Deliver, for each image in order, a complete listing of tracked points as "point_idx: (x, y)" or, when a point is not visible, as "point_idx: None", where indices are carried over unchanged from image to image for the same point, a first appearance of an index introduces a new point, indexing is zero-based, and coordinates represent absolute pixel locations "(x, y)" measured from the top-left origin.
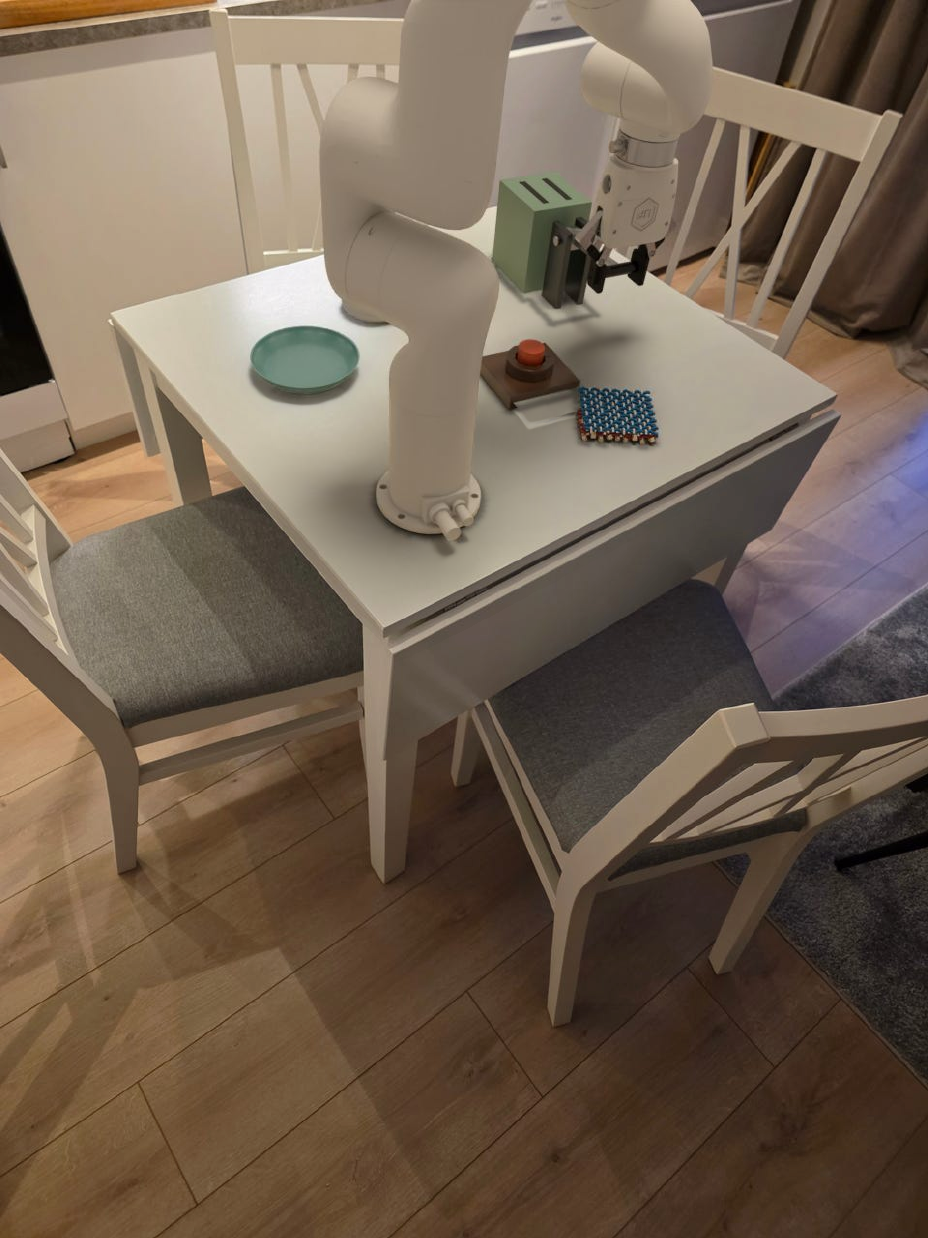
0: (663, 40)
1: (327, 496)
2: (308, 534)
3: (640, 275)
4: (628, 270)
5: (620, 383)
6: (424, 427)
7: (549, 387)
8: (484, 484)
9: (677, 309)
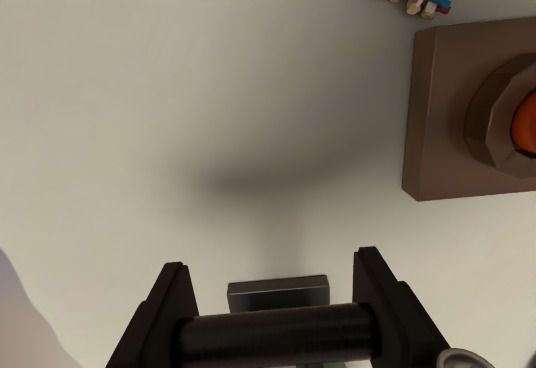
0: None
1: None
2: None
3: (174, 294)
4: (230, 323)
5: (292, 45)
6: None
7: (533, 18)
8: None
9: (48, 268)
